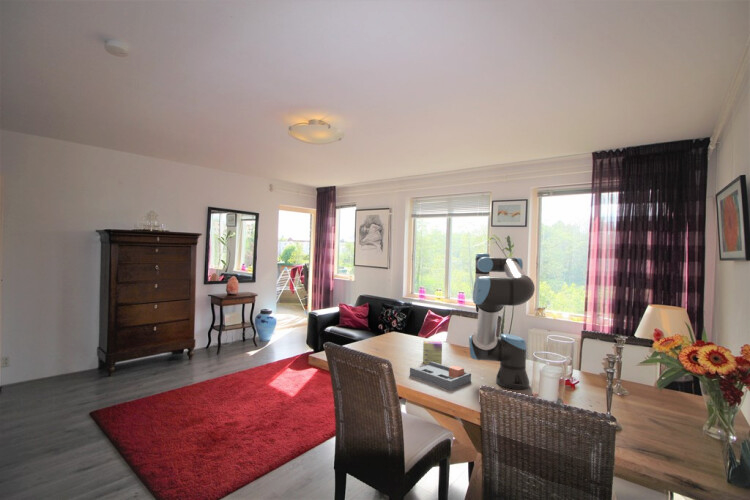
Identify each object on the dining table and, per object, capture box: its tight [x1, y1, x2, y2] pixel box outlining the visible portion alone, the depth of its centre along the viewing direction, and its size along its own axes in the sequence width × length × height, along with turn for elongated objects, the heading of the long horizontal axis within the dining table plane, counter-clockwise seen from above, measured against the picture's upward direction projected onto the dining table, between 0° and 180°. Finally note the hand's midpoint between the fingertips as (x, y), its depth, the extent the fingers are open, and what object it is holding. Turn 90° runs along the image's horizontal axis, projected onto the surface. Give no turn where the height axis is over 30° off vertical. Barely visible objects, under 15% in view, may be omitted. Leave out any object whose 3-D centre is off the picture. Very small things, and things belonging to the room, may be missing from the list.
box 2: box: [409, 361, 472, 391], centre depth 179 cm, size 25×17×4 cm
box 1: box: [422, 340, 443, 365], centre depth 204 cm, size 10×6×12 cm, turn 84°
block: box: [448, 365, 465, 378], centre depth 175 cm, size 6×5×4 cm
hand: (481, 324), depth 195 cm, fingers closed
